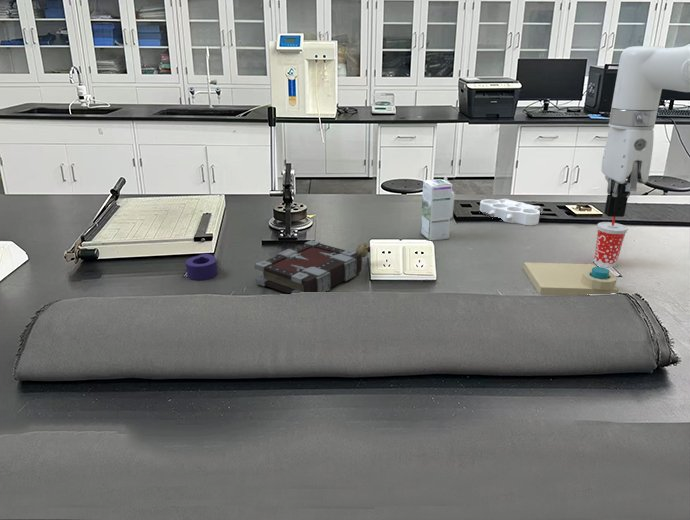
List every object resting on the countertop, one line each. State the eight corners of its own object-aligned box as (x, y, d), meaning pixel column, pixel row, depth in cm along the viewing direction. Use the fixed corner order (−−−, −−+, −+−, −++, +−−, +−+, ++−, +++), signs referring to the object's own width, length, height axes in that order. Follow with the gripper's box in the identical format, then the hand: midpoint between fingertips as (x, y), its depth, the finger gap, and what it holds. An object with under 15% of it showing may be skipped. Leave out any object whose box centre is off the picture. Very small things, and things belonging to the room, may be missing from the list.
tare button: (604, 274, 108) (605, 266, 107) (610, 280, 105) (612, 273, 104) (588, 273, 108) (589, 266, 107) (594, 280, 105) (595, 272, 104)
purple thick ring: (216, 279, 112) (215, 265, 111) (185, 281, 111) (183, 267, 110) (220, 258, 123) (218, 245, 122) (192, 259, 122) (190, 246, 121)
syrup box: (449, 239, 136) (454, 183, 130) (428, 241, 134) (432, 185, 129) (439, 232, 141) (443, 178, 135) (419, 234, 139) (422, 179, 134)
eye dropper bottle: (448, 221, 149) (452, 179, 144) (430, 218, 152) (433, 177, 147) (454, 217, 152) (458, 176, 148) (436, 214, 155) (439, 174, 151)
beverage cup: (587, 257, 124) (598, 199, 119) (615, 259, 123) (628, 201, 118) (593, 267, 119) (605, 207, 113) (622, 270, 118) (636, 209, 112)
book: (255, 284, 109) (253, 261, 108) (329, 250, 128) (329, 230, 126) (309, 304, 101) (308, 280, 99) (380, 264, 120) (381, 243, 118)
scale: (592, 271, 117) (595, 256, 116) (618, 298, 104) (621, 282, 103) (523, 269, 118) (525, 254, 116) (540, 296, 105) (543, 280, 104)
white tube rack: (552, 218, 153) (526, 229, 143) (497, 205, 165) (470, 214, 155) (554, 206, 151) (528, 217, 142) (498, 194, 163) (471, 203, 154)
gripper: (675, 124, 90) (652, 227, 97) (634, 114, 104) (616, 205, 110) (630, 124, 90) (610, 227, 97) (595, 114, 104) (580, 204, 111)
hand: (613, 215), depth 104 cm, fingers closed
